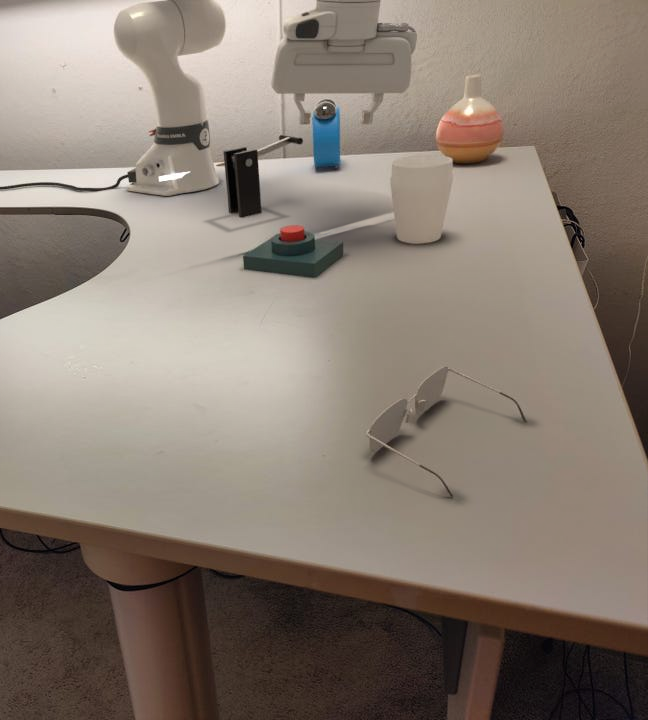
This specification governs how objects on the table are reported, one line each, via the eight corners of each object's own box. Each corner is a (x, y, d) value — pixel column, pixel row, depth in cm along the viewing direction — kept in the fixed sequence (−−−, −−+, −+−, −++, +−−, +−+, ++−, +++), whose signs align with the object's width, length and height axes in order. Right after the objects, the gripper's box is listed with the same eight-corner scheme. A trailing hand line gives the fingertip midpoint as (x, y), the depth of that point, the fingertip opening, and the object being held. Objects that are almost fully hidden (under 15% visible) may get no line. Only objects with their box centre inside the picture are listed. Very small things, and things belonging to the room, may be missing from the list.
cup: (386, 246, 104) (388, 169, 98) (392, 229, 111) (393, 156, 106) (448, 246, 101) (453, 166, 95) (449, 228, 108) (454, 153, 103)
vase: (514, 157, 145) (523, 70, 137) (475, 170, 139) (482, 80, 131) (460, 152, 156) (465, 71, 148) (421, 164, 150) (425, 80, 142)
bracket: (260, 208, 133) (256, 142, 127) (285, 216, 125) (281, 147, 119) (207, 221, 129) (200, 153, 123) (228, 231, 121) (222, 159, 115)
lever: (285, 142, 128) (282, 130, 127) (304, 146, 123) (301, 133, 121) (227, 167, 125) (224, 154, 124) (244, 172, 119) (241, 159, 118)
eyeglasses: (444, 393, 65) (450, 358, 63) (527, 426, 60) (536, 389, 58) (362, 461, 57) (365, 424, 55) (449, 506, 52) (457, 466, 50)
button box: (243, 269, 102) (241, 244, 101) (275, 248, 109) (273, 225, 108) (315, 278, 96) (314, 251, 94) (343, 255, 103) (343, 230, 101)
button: (276, 242, 101) (275, 231, 100) (287, 235, 103) (287, 224, 102) (297, 244, 99) (297, 233, 98) (308, 237, 101) (308, 226, 100)
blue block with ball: (340, 171, 152) (339, 102, 145) (312, 173, 154) (310, 105, 147) (340, 159, 163) (339, 95, 157) (314, 161, 165) (313, 97, 158)
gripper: (413, 20, 97) (398, 118, 104) (272, 21, 97) (267, 119, 105) (425, 25, 92) (408, 128, 99) (277, 26, 92) (271, 129, 99)
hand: (335, 123), depth 102 cm, fingers open, 8 cm apart
